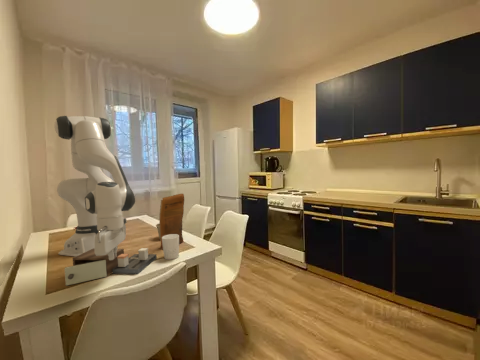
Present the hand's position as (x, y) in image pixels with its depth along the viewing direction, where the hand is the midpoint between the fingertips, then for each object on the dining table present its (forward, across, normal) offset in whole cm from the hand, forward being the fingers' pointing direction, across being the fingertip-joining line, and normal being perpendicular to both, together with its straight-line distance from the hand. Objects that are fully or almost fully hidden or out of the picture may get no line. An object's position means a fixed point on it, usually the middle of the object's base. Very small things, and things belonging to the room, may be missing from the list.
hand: (112, 258), depth 88 cm
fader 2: (+5, +12, -8) cm, 15 cm away
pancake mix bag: (+8, +35, -18) cm, 40 cm away
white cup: (+8, +17, -19) cm, 27 cm away
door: (+7, -1, +9) cm, 12 cm away
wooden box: (+8, +10, +10) cm, 16 cm away
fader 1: (+5, +6, -1) cm, 9 cm away
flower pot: (+7, +50, -10) cm, 51 cm away
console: (+8, +11, -5) cm, 14 cm away
